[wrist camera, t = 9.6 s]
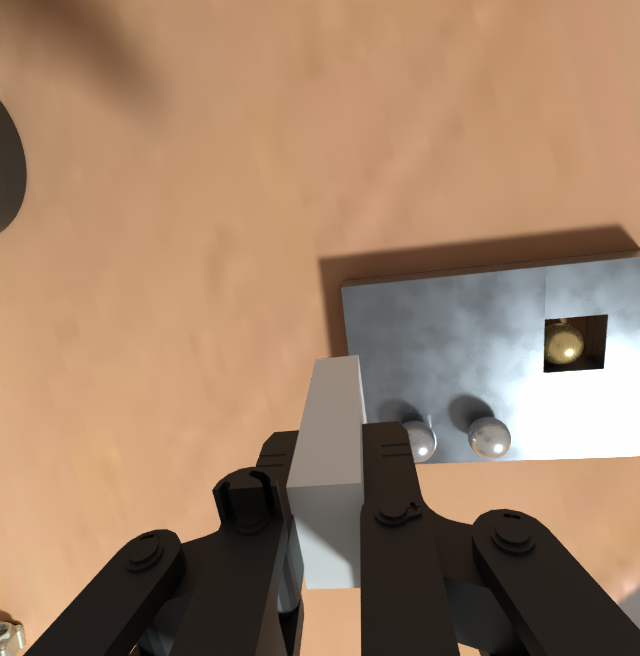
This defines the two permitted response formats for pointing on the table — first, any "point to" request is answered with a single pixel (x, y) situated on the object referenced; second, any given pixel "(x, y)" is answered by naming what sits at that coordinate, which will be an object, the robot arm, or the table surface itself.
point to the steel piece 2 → (489, 437)
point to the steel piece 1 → (420, 440)
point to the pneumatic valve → (11, 639)
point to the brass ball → (562, 343)
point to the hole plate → (503, 354)
